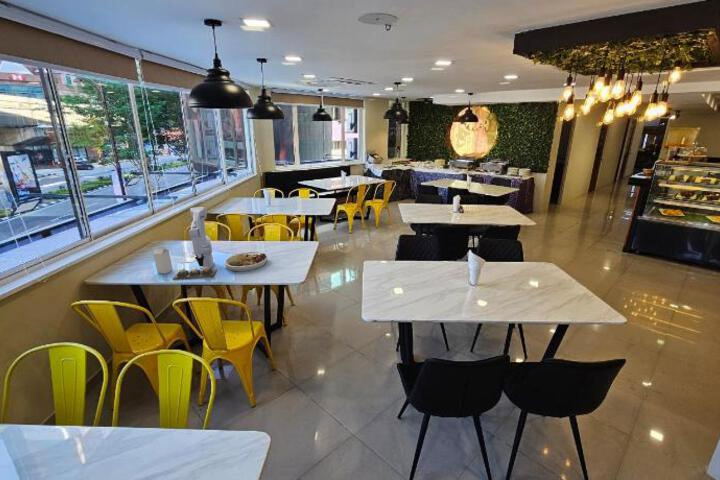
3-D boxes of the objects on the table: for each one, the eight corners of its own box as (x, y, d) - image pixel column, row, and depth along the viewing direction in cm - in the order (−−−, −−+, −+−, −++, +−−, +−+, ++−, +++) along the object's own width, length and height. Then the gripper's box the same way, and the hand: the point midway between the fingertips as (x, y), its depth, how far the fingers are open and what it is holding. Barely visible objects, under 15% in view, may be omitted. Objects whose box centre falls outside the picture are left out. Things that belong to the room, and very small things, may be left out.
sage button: (180, 271, 245) (180, 268, 244) (186, 271, 245) (185, 268, 244) (178, 273, 241) (178, 270, 241) (184, 273, 242) (183, 270, 241)
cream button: (192, 271, 246) (192, 267, 245) (198, 270, 246) (197, 267, 245) (191, 273, 242) (190, 269, 241) (196, 272, 242) (195, 269, 242)
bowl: (223, 275, 244) (222, 265, 242) (227, 260, 272) (225, 251, 270) (268, 269, 252) (266, 259, 249) (267, 255, 279) (266, 246, 277)
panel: (179, 273, 250) (178, 269, 249) (217, 270, 252) (216, 266, 251) (173, 279, 240) (172, 275, 239) (212, 277, 242) (211, 272, 241)
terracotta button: (204, 270, 246) (204, 266, 245) (210, 269, 247) (209, 266, 246) (203, 272, 243) (202, 268, 242) (208, 271, 243) (207, 268, 242)
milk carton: (166, 273, 250) (160, 248, 244) (157, 273, 252) (151, 248, 246) (173, 269, 257) (167, 245, 251) (164, 269, 258) (159, 244, 252)
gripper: (190, 243, 240) (194, 261, 244) (191, 249, 227) (195, 269, 232) (201, 241, 243) (205, 260, 247) (203, 247, 230) (206, 267, 235)
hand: (201, 264), depth 240 cm, fingers open, 7 cm apart
